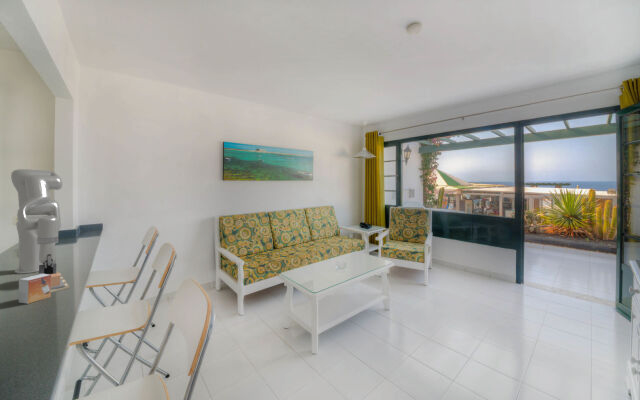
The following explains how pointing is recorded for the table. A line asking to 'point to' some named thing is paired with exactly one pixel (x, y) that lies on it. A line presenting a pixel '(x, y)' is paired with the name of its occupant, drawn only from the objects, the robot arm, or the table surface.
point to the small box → (34, 288)
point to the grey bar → (41, 271)
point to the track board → (61, 287)
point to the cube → (55, 279)
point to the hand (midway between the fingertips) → (47, 272)
